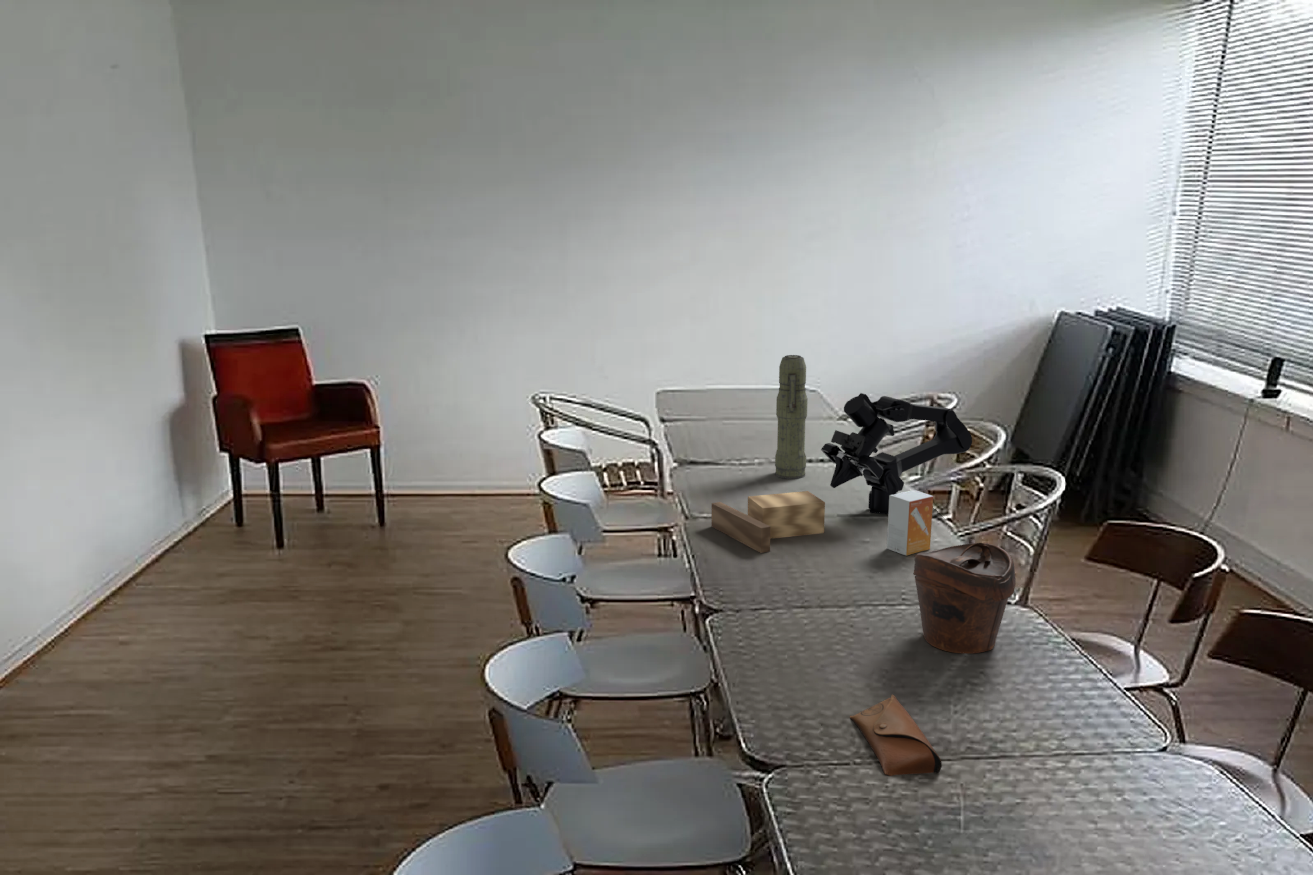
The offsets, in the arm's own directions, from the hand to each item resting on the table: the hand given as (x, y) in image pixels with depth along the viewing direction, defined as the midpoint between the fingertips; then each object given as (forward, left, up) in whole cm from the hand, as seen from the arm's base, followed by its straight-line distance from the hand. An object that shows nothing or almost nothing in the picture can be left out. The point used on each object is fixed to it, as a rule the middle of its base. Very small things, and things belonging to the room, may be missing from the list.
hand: (831, 486), depth 253 cm
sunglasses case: (-23, +104, -10) cm, 106 cm away
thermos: (+17, -40, -9) cm, 44 cm away
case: (-32, +63, -9) cm, 71 cm away
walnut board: (+19, +19, -9) cm, 28 cm away
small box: (-20, +16, -9) cm, 27 cm away
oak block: (+10, +10, -9) cm, 17 cm away
